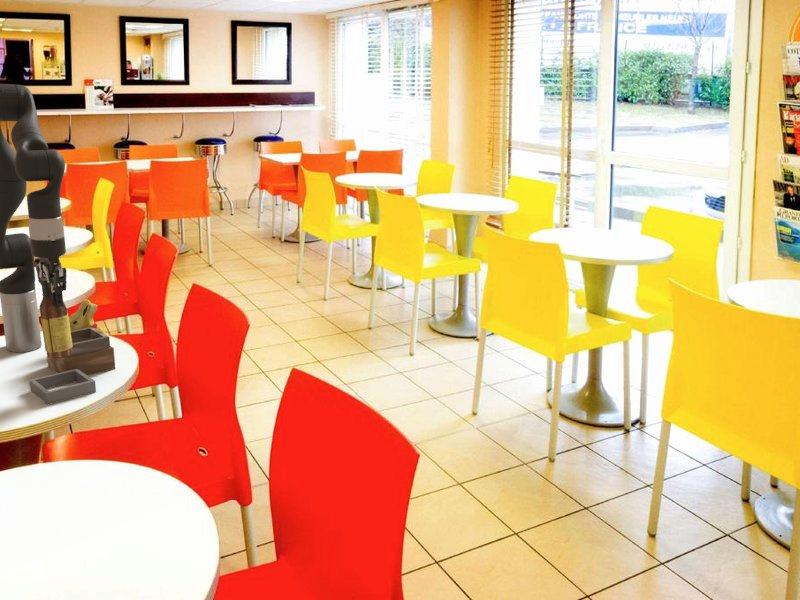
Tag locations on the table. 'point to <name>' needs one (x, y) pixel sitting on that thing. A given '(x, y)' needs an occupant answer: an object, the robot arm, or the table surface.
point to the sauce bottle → (54, 325)
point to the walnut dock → (86, 353)
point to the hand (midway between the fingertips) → (54, 303)
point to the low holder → (65, 393)
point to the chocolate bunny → (84, 317)
